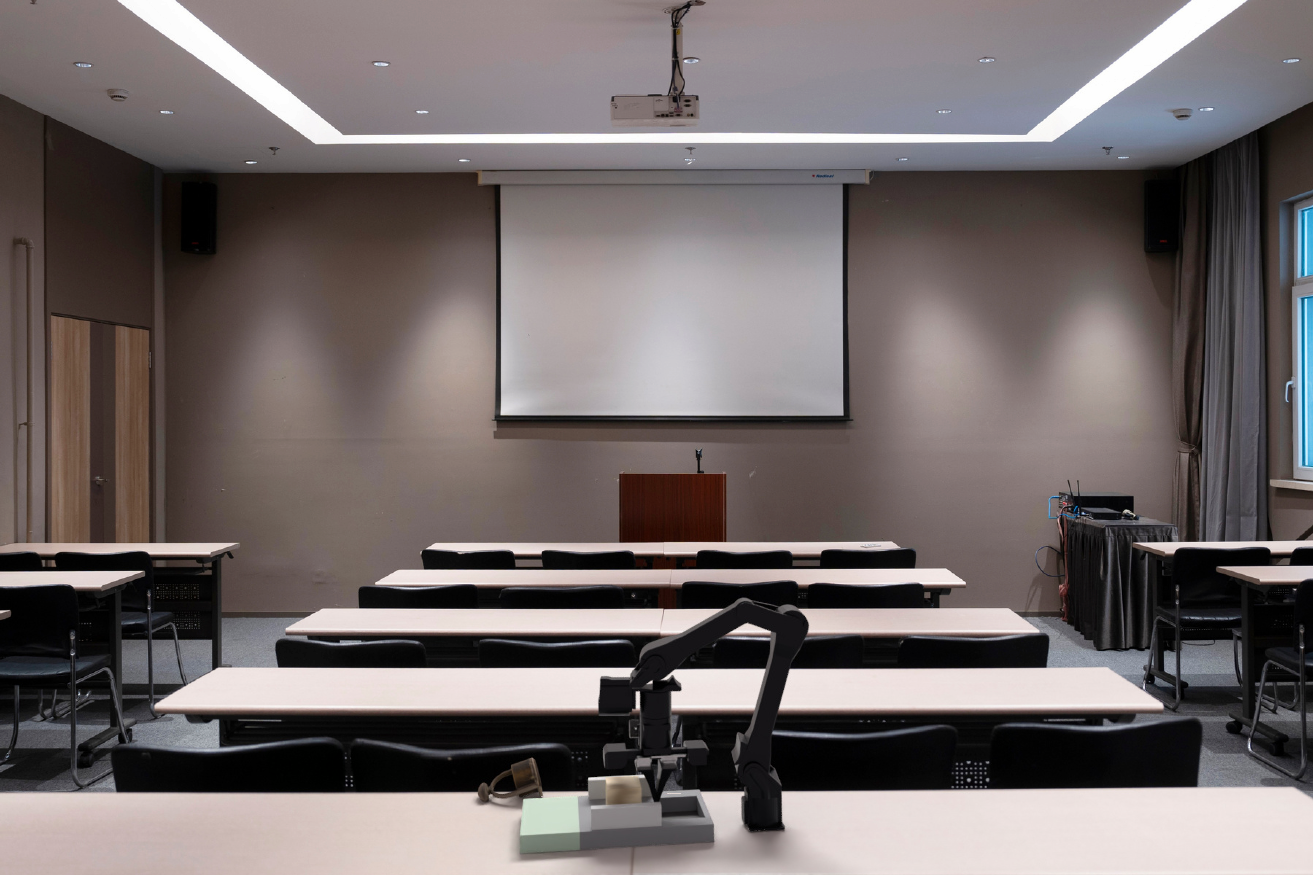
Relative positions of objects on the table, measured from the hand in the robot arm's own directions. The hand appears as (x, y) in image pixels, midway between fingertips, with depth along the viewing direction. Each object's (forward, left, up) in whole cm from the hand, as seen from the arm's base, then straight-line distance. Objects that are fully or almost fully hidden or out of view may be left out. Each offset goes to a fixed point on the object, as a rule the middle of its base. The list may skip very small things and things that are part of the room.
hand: (656, 802), depth 160 cm
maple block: (+6, 0, -1) cm, 6 cm away
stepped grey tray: (+7, 0, -4) cm, 8 cm away
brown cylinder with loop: (+26, -18, -5) cm, 32 cm away
